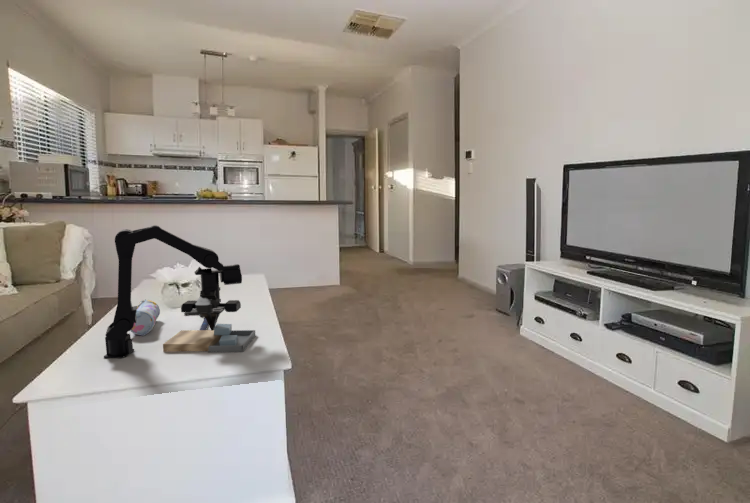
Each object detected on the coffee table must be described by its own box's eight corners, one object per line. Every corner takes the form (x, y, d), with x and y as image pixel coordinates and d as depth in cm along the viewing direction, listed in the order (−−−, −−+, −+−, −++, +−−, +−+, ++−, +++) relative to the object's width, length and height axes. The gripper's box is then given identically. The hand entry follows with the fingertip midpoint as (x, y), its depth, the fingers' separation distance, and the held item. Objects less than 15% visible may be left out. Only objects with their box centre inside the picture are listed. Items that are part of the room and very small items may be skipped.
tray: (208, 352, 140) (207, 346, 140) (224, 335, 156) (223, 330, 156) (243, 351, 140) (242, 345, 140) (255, 335, 156) (255, 330, 156)
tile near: (219, 348, 143) (219, 340, 142) (222, 342, 147) (221, 335, 147) (235, 347, 143) (235, 339, 143) (237, 341, 148) (237, 334, 148)
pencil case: (137, 322, 173) (135, 299, 172) (161, 319, 176) (159, 297, 175) (127, 338, 154) (125, 312, 153) (155, 335, 157) (153, 310, 156)
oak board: (163, 351, 141) (162, 344, 140) (181, 337, 155) (181, 330, 154) (209, 351, 141) (209, 343, 141) (223, 336, 155) (223, 330, 155)
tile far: (213, 335, 149) (214, 328, 148) (216, 330, 154) (217, 323, 153) (229, 335, 149) (229, 328, 149) (231, 330, 154) (231, 324, 154)
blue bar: (186, 308, 187) (215, 305, 190) (186, 313, 187) (216, 310, 190) (170, 334, 154) (206, 330, 157) (171, 340, 154) (207, 335, 157)
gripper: (172, 291, 140) (175, 338, 143) (230, 291, 141) (232, 337, 143) (186, 284, 152) (189, 327, 154) (240, 284, 152) (242, 327, 154)
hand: (212, 330), depth 151 cm, fingers closed
